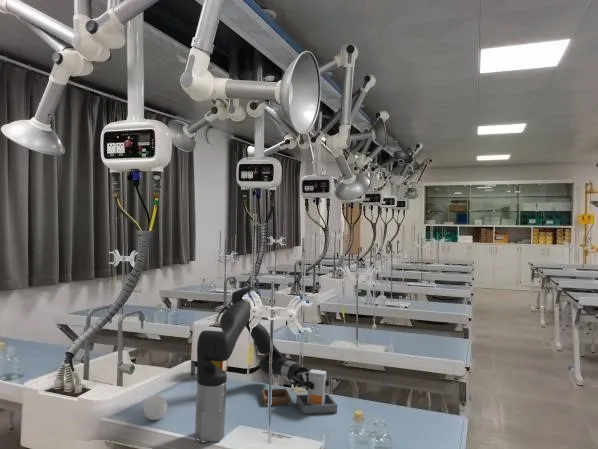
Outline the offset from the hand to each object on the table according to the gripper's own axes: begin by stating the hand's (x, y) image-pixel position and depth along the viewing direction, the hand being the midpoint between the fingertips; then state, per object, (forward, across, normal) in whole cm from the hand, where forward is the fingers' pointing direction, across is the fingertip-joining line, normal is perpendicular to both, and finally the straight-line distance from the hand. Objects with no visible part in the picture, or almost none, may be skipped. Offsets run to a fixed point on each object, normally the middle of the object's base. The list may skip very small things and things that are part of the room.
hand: (320, 385), depth 167 cm
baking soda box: (-57, -13, +10) cm, 59 cm away
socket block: (-16, -9, +9) cm, 21 cm away
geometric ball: (-24, -54, +10) cm, 60 cm away
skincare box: (-2, 0, +8) cm, 8 cm away
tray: (-2, 0, +9) cm, 9 cm away
